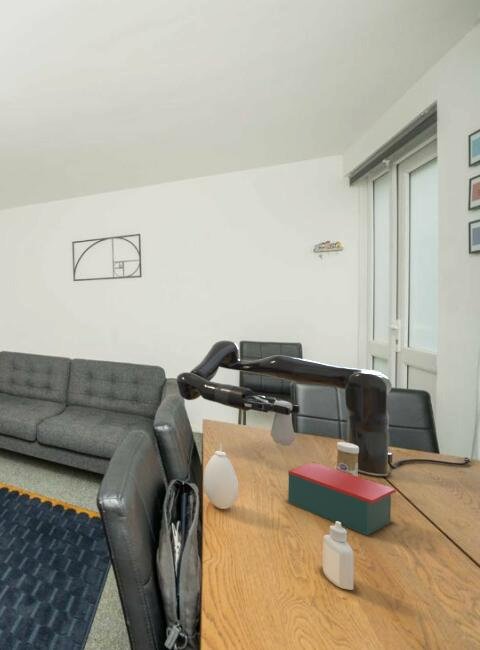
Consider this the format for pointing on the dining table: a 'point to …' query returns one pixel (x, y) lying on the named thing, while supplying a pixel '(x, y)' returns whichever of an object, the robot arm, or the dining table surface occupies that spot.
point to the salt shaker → (282, 426)
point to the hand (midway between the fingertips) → (294, 410)
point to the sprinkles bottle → (347, 458)
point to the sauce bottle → (220, 481)
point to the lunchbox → (339, 505)
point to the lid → (343, 482)
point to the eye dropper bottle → (338, 558)
